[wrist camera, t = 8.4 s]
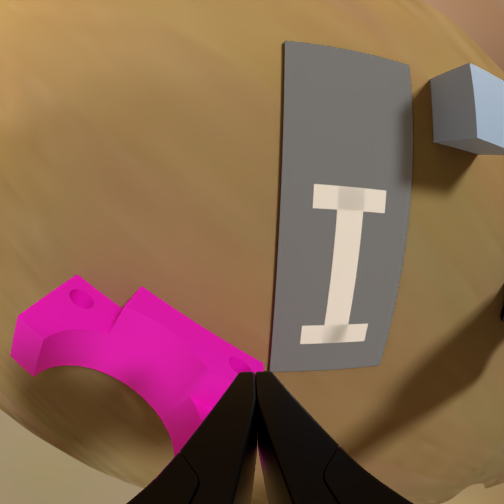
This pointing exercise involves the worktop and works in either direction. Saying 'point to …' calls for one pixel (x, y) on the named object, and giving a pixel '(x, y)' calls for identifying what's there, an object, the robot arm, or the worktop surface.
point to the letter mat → (340, 206)
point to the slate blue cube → (468, 110)
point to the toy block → (133, 350)
